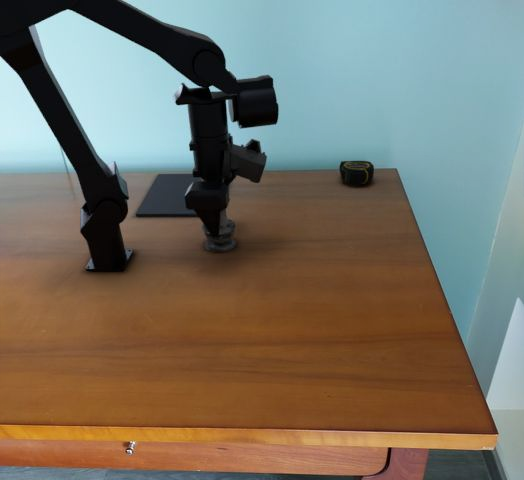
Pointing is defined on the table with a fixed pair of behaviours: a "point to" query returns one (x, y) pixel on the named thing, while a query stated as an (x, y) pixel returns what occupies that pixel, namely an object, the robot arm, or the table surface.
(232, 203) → the table surface
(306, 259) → the table surface
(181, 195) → the mat
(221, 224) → the salt shaker
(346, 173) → the tape measure
